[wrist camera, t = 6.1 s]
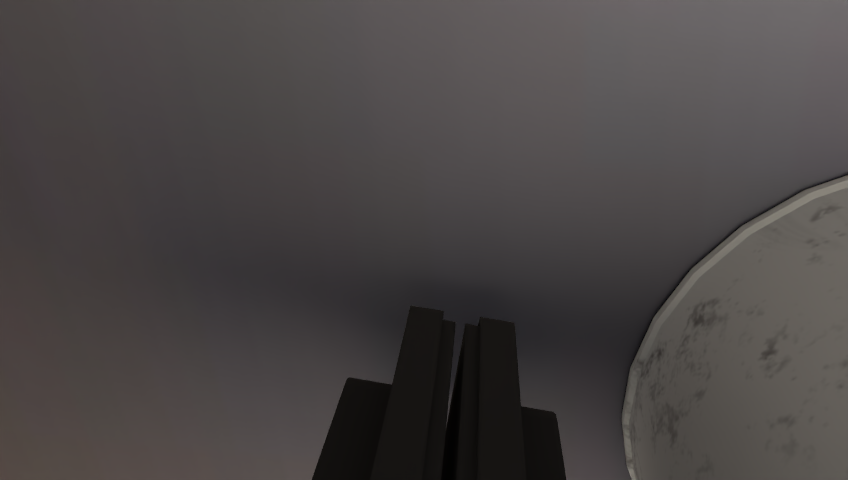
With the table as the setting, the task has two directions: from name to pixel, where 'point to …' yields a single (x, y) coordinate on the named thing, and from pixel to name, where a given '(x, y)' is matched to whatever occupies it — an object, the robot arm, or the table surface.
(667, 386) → the grey speckled cylinder
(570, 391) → the table surface
